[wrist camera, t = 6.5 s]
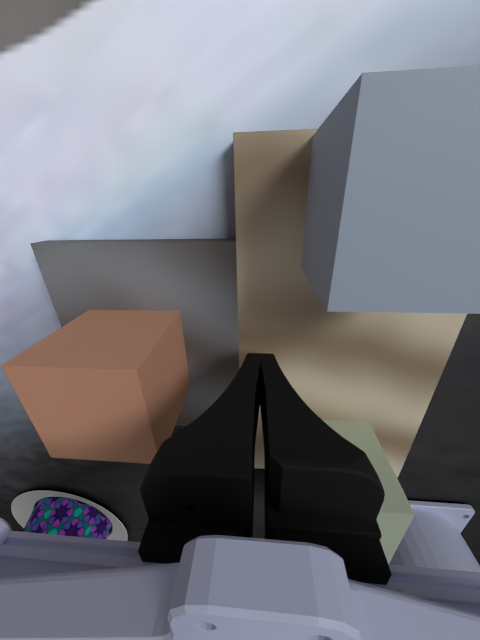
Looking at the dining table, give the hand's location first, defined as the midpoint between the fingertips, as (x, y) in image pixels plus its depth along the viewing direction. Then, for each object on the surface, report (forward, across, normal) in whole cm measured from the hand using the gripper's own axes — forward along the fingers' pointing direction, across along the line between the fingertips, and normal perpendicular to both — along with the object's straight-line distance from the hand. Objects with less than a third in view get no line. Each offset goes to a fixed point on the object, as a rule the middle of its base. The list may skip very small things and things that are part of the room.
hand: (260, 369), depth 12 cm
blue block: (+1, -4, -7) cm, 9 cm away
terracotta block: (+1, +7, 0) cm, 7 cm away
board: (+2, 0, 0) cm, 2 cm away
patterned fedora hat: (+3, +19, +22) cm, 29 cm away
